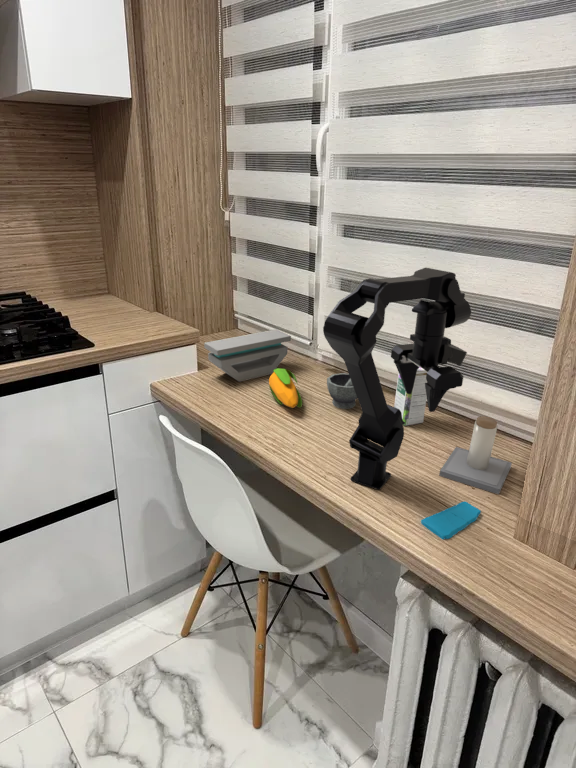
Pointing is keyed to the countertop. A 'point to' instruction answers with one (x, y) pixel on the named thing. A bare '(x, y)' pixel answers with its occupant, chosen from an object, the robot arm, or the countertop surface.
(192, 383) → the countertop surface
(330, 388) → the mortar and pestle
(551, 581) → the countertop surface
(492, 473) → the slate trivet
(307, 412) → the countertop surface
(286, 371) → the corn
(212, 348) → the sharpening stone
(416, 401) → the syrup box
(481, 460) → the spice jar
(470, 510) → the sponge
